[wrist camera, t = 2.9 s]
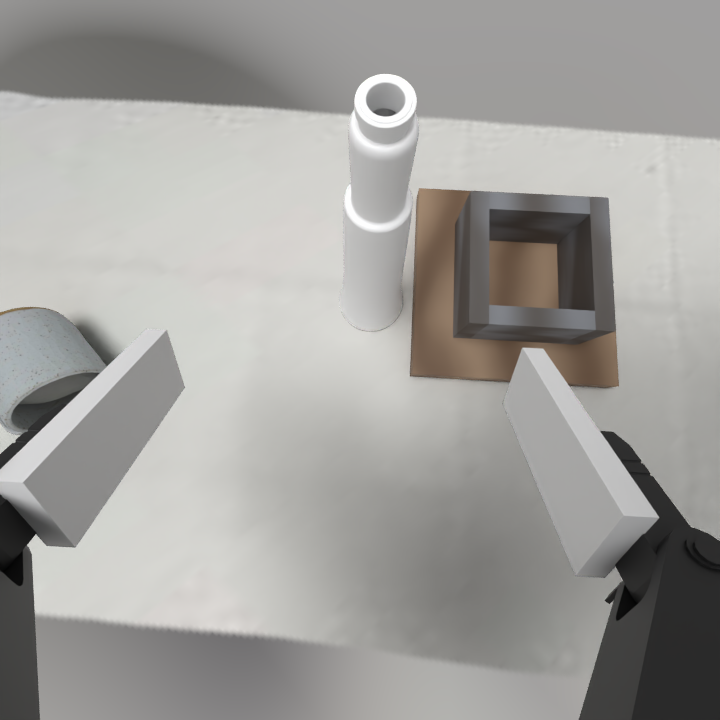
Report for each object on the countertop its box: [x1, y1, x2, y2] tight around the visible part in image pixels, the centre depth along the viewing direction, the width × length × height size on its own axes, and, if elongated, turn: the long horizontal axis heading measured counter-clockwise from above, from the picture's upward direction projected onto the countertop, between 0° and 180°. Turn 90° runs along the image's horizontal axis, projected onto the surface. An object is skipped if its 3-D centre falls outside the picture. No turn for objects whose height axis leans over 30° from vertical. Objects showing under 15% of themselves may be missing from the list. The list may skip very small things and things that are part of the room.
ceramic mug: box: [0, 307, 107, 435], centre depth 30 cm, size 11×8×8 cm
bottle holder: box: [410, 188, 619, 388], centre depth 31 cm, size 18×18×6 cm
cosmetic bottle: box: [339, 74, 419, 331], centre depth 24 cm, size 6×6×22 cm
